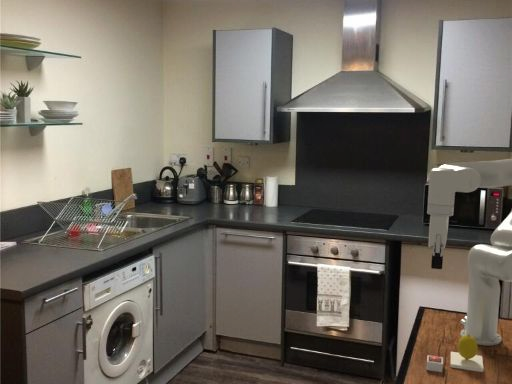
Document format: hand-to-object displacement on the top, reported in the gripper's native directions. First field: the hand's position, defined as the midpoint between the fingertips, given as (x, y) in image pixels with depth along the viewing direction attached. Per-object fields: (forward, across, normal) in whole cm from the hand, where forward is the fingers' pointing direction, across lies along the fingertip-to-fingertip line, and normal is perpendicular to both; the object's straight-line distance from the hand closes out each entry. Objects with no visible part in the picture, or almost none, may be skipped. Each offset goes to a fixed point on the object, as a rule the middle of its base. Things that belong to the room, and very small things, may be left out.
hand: (436, 268), depth 172 cm
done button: (+26, +11, +1) cm, 28 cm away
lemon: (+26, +4, +10) cm, 29 cm away
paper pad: (+27, +5, +10) cm, 29 cm away
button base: (+27, +11, +1) cm, 29 cm away
